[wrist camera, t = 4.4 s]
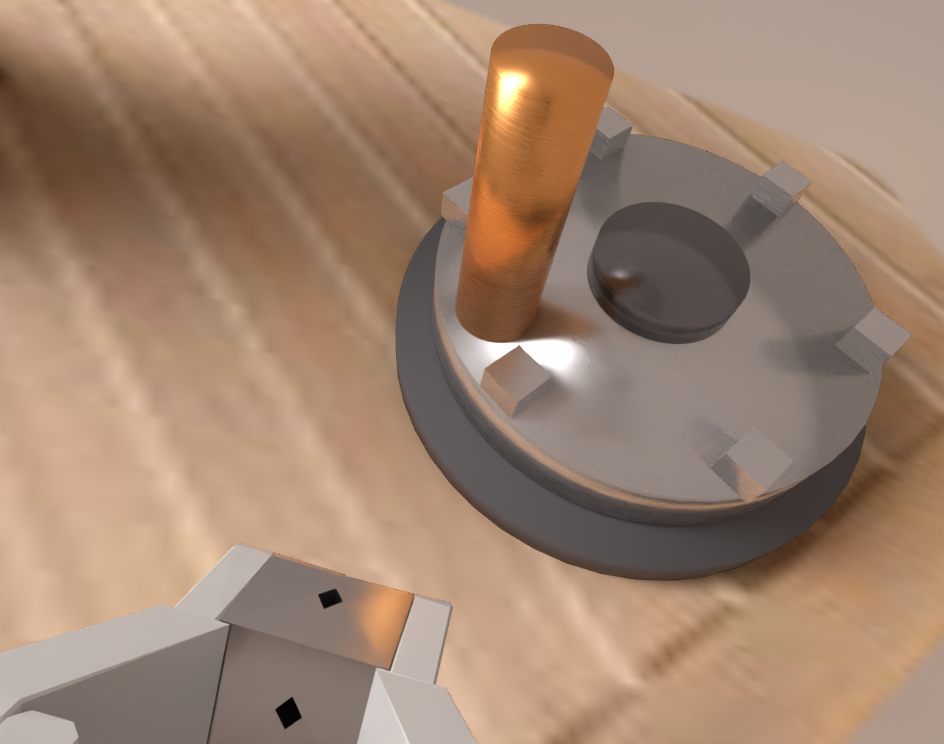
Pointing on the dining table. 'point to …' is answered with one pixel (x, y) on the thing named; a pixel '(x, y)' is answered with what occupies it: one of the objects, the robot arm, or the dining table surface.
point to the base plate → (559, 520)
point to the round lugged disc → (642, 304)
